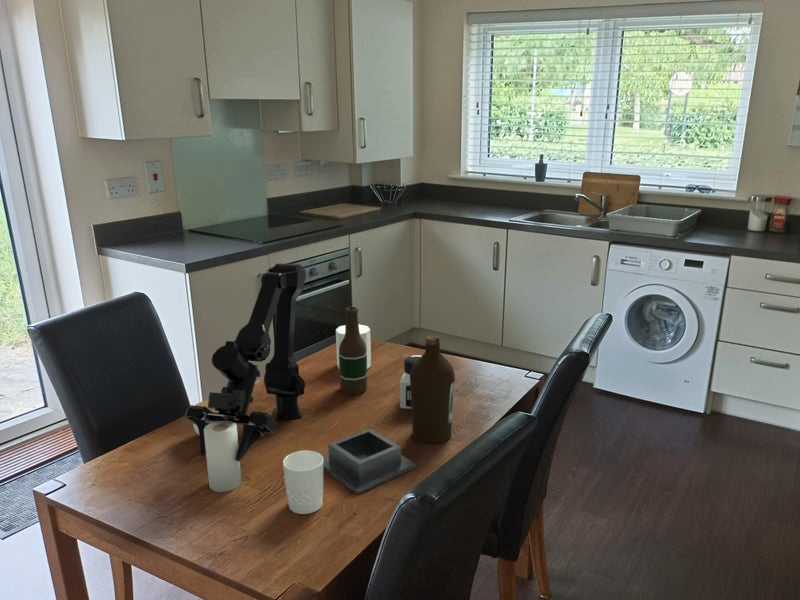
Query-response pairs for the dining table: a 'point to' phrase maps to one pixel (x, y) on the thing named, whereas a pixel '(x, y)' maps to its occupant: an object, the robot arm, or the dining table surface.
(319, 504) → the white cup
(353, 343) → the beer bottle
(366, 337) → the toilet paper
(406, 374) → the container
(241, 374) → the robot arm
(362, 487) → the square open box
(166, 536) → the dining table surface
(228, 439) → the white paper towel roll
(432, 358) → the olive oil
